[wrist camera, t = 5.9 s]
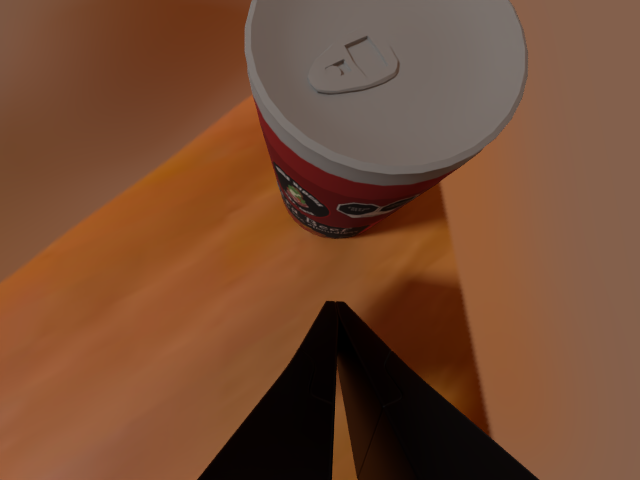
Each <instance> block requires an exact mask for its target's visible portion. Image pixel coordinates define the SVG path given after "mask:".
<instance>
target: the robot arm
mask: <svg viewBox="0 0 640 480" xmlns="http://www.w3.org/2000/svg"><path fill="white" fill-rule="evenodd" d="M337 366H338V372H339V378H340V383H341V389H342V395H343V401H344V406H345V412H346V418H347V423H348V429H349V435H350V440H351V446H352V452H353V458H354V463H355V469H356V475H357V479H358V480H539V479H538V478H537V477H536V476H534V475H533V474H532V473H531V472H530V471H529V470H527V469H526V468H525V467H524V466H523V465H522V464H520V463H519V462H518V461H517V460H516V459H514V458H513V457H512V456H511V455H510V454H509V453H508V452H506V451H505V450H504V449H503V448H502V447H501V446H499V445H498V444H497V443H496V442H495V441H494V440H492V439H491V438H490V437H489V436H488V435H487V434H486V433H484V432H483V431H482V430H481V429H480V428H479V427H477V426H476V425H475V424H474V423H473V422H472V421H470V420H469V419H468V418H467V417H466V416H465V415H463V414H462V413H461V412H460V411H459V410H458V409H456V408H455V407H454V406H453V405H452V404H451V403H449V402H448V401H447V400H446V399H445V398H444V397H442V396H441V395H440V394H439V393H438V392H437V391H435V390H434V389H433V388H432V387H431V386H430V385H428V384H427V383H426V382H425V381H424V380H423V379H422V378H420V377H419V376H418V375H417V374H416V373H415V372H414V371H413V370H412V369H410V368H409V367H408V366H407V365H406V364H405V363H404V362H403V361H402V360H401V359H400V358H399V357H398V356H397V355H396V354H395V353H394V352H393V351H392V350H391V349H390V348H389V347H388V346H387V345H386V344H385V343H384V342H383V341H382V340H381V339H380V338H379V337H378V336H377V335H376V334H375V333H374V332H373V331H372V330H371V329H370V328H369V327H368V326H367V325H366V323H365V322H364V321H363V320H362V319H361V318H360V317H359V316H358V315H357V314H356V313H355V312H354V311H353V310H352V309H351V308H350V307H349V306H348V305H347V304H346V303H345V302H341V301H336V302H334V301H326V302H325V304H324V305H323V307H322V309H321V311H320V312H319V314H318V316H317V318H316V319H315V321H314V323H313V324H312V326H311V328H310V330H309V331H308V333H307V335H306V337H305V338H304V340H303V342H302V343H301V345H300V347H299V348H298V350H297V352H296V353H295V355H294V357H293V358H292V360H291V361H290V363H289V364H288V366H287V367H286V368H285V370H284V371H283V372H282V374H281V375H280V376H279V378H278V379H277V380H276V381H275V383H274V384H273V385H272V386H271V388H270V389H269V390H268V391H267V393H266V394H265V395H264V396H263V398H262V399H261V400H260V402H259V403H258V404H257V405H256V407H255V408H254V409H253V410H252V412H251V413H250V414H249V415H248V417H247V418H246V419H245V420H244V422H243V423H242V424H241V425H240V427H239V428H238V429H237V430H236V432H235V433H234V434H233V435H232V437H231V438H230V439H229V440H228V442H227V443H226V444H225V445H224V447H223V448H222V449H221V450H220V452H219V453H218V454H217V455H216V457H215V458H214V459H213V460H212V462H211V463H210V464H209V466H208V467H207V468H206V469H205V471H204V472H203V473H202V474H201V476H200V477H199V478H198V479H197V480H332V464H333V441H334V418H335V394H336V371H337Z"/></svg>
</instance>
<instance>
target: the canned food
mask: <svg viewBox="0 0 640 480" xmlns="http://www.w3.org/2000/svg"><path fill="white" fill-rule="evenodd" d="M245 56H246V60H247V64H248V76H249V81H250V85H251V89H252V94H253V98H254V101H255V105H256V108H257V112H258V116H259V121H260V125H261V128H262V131H263V135H264V138H265V141H266V145H267V148H268V151H269V155H270V158H271V161H272V165H273V168H274V171H275V175H276V178H277V181H278V185H279V188H280V191H281V195H282V198H283V202H284V204H285V206H286V208H287V211H288V213H289V214H290V215H291V217H292V218H293V219H294V221H295V222H296V223H298V224H299V225H300V226H301V227H302V228H303V229H305V230H307V231H309V232H310V233H312V234H315V235H318V236H321V237H324V238H332V239H339V238H348V237H352V236H355V235H358V234H360V233H362V232H364V231H366V230H368V229H369V228H371V227H372V226H374V225H375V224H377V223H378V222H380V221H381V220H383V219H384V218H386V217H387V216H389V215H390V214H392V213H393V212H395V211H396V210H398V209H399V208H401V207H402V206H404V205H405V204H407V203H408V202H410V201H411V200H413V199H415V198H416V197H418V196H419V195H421V194H422V193H424V192H425V191H427V190H428V189H430V188H431V187H433V186H434V185H436V184H437V183H439V182H440V181H441V180H442V179H444V178H445V177H446V176H448V175H449V174H451V173H452V172H453V171H455V170H457V169H458V168H460V167H461V166H462V165H464V164H465V163H466V162H467V161H469V160H470V159H471V158H473V157H474V156H475V155H476V154H478V153H479V152H480V151H481V150H482V149H483V148H484V147H485V146H486V145H487V144H489V143H490V142H491V141H492V140H494V139H495V138H496V137H497V136H498V135H499V133H500V132H501V131H502V130H503V129H504V127H505V126H506V125H507V124H508V123H509V121H510V120H511V119H512V117H513V115H514V113H515V111H516V109H517V107H518V105H519V103H520V101H521V99H522V96H523V92H524V88H525V83H526V80H527V76H528V50H527V45H526V41H525V35H524V31H523V28H522V25H521V23H520V20H519V18H518V16H517V13H516V11H515V8H514V7H513V5H512V4H511V2H510V1H509V0H253V1H252V2H251V6H250V10H249V13H248V17H247V22H246V25H245Z"/></svg>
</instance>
